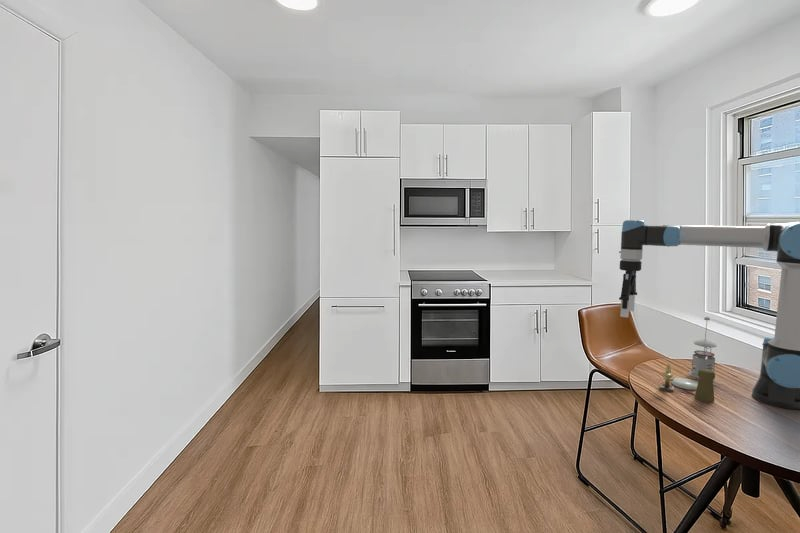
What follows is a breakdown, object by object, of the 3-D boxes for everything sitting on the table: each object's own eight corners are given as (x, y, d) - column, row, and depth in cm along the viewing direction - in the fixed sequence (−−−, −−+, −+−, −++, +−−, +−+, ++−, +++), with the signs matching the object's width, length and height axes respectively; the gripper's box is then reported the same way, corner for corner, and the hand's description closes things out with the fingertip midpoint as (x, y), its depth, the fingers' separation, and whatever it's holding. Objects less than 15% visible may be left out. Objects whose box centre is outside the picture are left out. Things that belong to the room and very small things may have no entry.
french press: (685, 375, 188) (689, 316, 185) (693, 368, 196) (698, 312, 193) (712, 381, 181) (718, 320, 178) (720, 374, 189) (725, 316, 186)
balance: (674, 385, 176) (676, 358, 175) (672, 395, 167) (674, 366, 165) (661, 383, 179) (663, 356, 177) (658, 392, 169) (660, 364, 168)
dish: (702, 384, 178) (702, 381, 178) (701, 392, 170) (701, 389, 170) (672, 378, 183) (673, 376, 183) (670, 386, 175) (671, 383, 175)
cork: (717, 403, 160) (720, 373, 159) (698, 401, 161) (701, 372, 160) (709, 396, 166) (712, 367, 164) (691, 395, 167) (693, 366, 166)
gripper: (625, 257, 186) (622, 307, 188) (614, 262, 166) (610, 318, 168) (646, 258, 182) (642, 309, 184) (636, 263, 162) (632, 321, 164)
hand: (627, 313), depth 176 cm, fingers open, 13 cm apart
